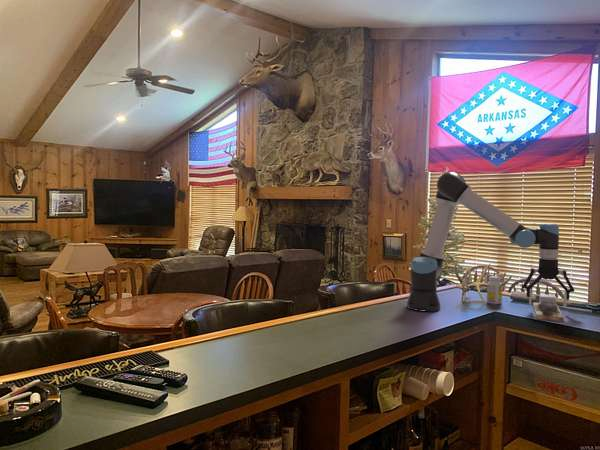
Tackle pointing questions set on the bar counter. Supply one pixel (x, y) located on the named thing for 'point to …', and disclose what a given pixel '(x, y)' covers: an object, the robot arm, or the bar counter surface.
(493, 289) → the supplement bottle
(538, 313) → the shaft bed
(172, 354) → the bar counter surface
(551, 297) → the coupler
